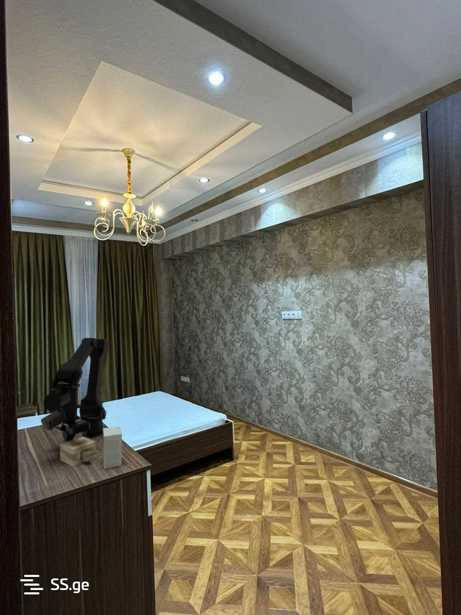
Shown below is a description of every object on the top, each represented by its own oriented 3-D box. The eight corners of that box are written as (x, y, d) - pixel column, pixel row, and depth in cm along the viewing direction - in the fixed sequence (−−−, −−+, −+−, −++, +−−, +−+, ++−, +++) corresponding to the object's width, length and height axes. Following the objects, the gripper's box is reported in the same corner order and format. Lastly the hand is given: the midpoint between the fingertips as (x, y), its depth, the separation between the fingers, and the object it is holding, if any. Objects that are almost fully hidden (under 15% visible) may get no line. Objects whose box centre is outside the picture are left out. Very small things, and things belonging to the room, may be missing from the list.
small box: (102, 459, 109) (102, 428, 109) (120, 456, 111) (120, 425, 111) (103, 469, 102) (103, 436, 102) (121, 466, 104) (121, 433, 104)
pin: (75, 451, 114) (75, 440, 114) (95, 460, 107) (95, 448, 107) (63, 455, 111) (63, 443, 111) (83, 465, 104) (83, 452, 104)
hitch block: (82, 451, 115) (82, 436, 115) (95, 457, 110) (95, 441, 110) (60, 460, 108) (60, 443, 108) (72, 466, 104) (72, 449, 104)
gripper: (32, 402, 112) (31, 447, 112) (58, 413, 101) (57, 463, 101) (64, 396, 121) (63, 437, 121) (91, 405, 110) (90, 451, 110)
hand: (67, 446), depth 113 cm, fingers closed
